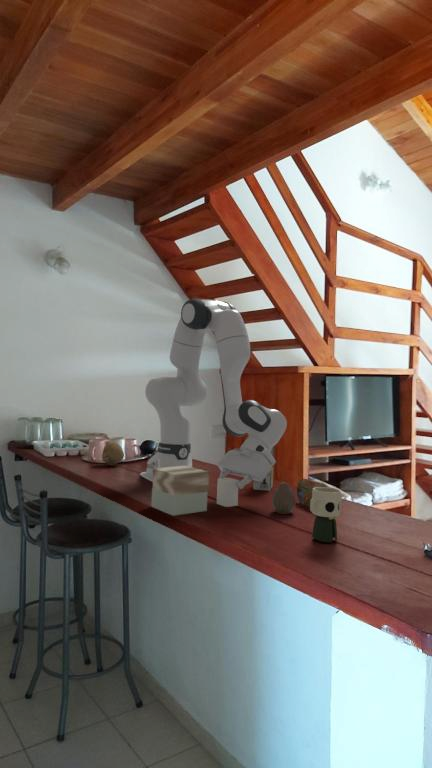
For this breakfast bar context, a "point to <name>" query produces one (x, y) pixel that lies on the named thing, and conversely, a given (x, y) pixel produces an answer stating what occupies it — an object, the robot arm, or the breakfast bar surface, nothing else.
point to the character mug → (325, 512)
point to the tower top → (180, 480)
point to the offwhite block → (227, 492)
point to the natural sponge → (112, 453)
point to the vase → (283, 499)
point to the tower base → (179, 502)
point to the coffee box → (265, 479)
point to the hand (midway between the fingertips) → (229, 484)
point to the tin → (307, 490)
